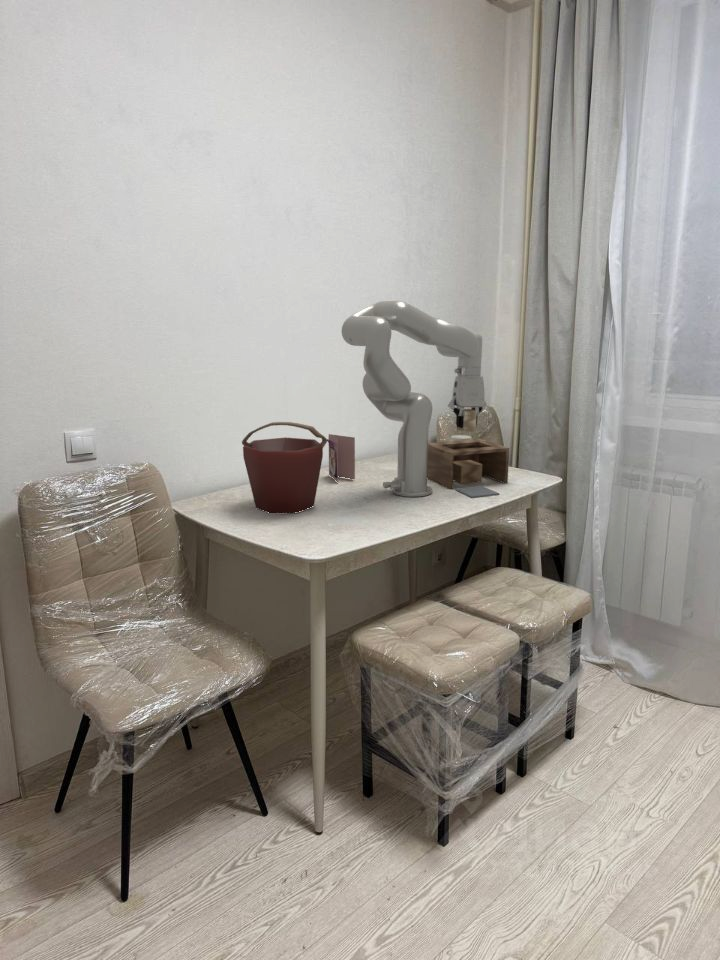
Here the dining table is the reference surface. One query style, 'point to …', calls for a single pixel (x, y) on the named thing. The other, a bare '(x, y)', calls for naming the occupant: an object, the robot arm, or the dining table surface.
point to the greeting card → (341, 456)
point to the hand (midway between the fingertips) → (466, 426)
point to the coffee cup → (460, 437)
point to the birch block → (468, 420)
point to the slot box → (466, 461)
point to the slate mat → (477, 492)
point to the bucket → (284, 470)
